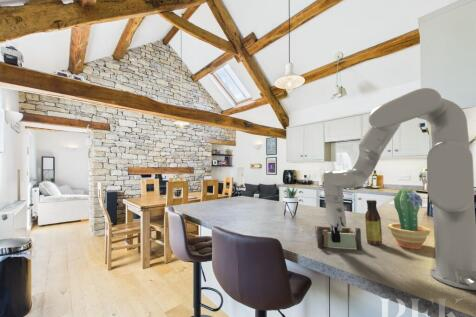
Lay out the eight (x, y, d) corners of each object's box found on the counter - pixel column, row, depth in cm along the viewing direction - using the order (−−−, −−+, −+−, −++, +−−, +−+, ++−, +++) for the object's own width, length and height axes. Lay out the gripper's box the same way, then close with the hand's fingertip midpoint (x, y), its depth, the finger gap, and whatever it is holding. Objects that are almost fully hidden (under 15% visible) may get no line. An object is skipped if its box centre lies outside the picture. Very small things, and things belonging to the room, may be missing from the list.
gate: (354, 247, 96) (353, 231, 96) (355, 248, 94) (354, 232, 95) (324, 245, 99) (323, 229, 99) (324, 246, 98) (323, 230, 98)
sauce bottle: (384, 246, 98) (382, 201, 99) (369, 245, 99) (367, 201, 100) (378, 241, 105) (376, 199, 106) (364, 240, 106) (362, 199, 107)
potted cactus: (391, 248, 95) (387, 190, 97) (386, 238, 109) (383, 187, 110) (437, 254, 88) (433, 191, 89) (426, 242, 102) (422, 188, 103)
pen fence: (362, 250, 93) (361, 229, 94) (317, 247, 98) (317, 227, 98) (351, 237, 110) (351, 219, 111) (314, 236, 115) (313, 218, 115)
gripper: (350, 201, 88) (353, 247, 87) (335, 196, 103) (337, 236, 102) (332, 201, 88) (334, 248, 87) (319, 197, 103) (321, 237, 102)
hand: (336, 241), depth 94 cm, fingers closed
